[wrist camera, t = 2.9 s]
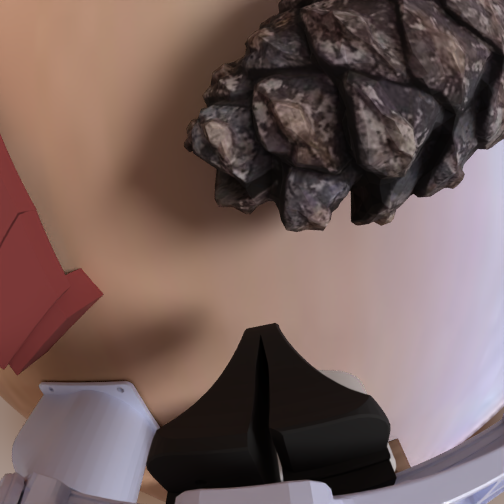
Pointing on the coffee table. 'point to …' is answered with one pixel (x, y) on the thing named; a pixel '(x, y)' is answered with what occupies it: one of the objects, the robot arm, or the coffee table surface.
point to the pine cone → (354, 106)
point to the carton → (32, 279)
